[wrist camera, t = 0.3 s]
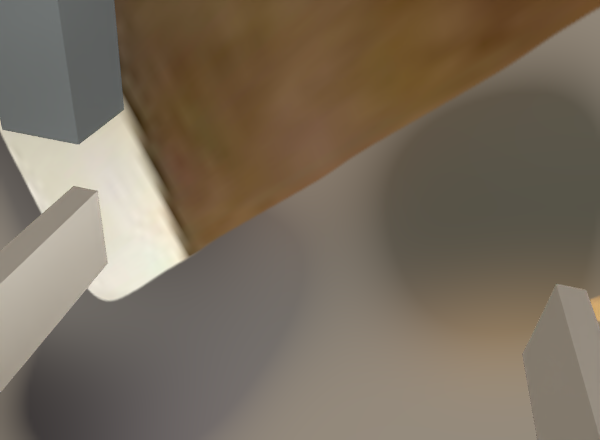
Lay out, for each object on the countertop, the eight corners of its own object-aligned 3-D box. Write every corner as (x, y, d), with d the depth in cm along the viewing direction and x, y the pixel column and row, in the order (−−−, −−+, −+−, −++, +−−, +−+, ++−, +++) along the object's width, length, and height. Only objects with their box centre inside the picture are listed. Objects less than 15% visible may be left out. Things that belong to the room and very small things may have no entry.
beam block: (20, -132, 36) (-58, -132, 30) (104, -121, 35) (39, -118, 30) (58, 96, 45) (2, 129, 39) (125, 108, 44) (78, 144, 39)
